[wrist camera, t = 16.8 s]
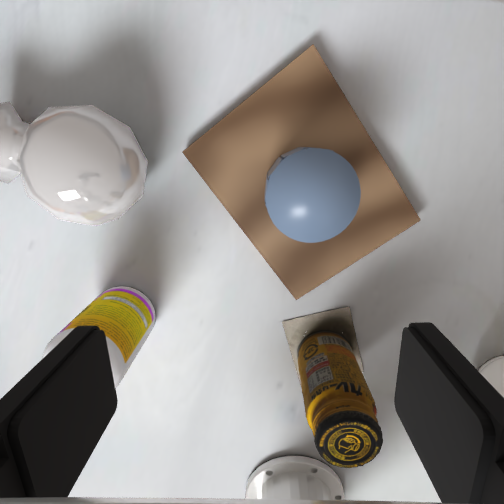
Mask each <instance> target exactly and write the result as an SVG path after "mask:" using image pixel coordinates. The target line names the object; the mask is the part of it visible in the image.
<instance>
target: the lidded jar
mask: <svg viewBox="0 0 504 504" xmlns="http://www.w3.org/2000/svg"><path fill="white" fill-rule="evenodd" d="M478 371H479V372H480V374H481V375H482V376H483V377H484V378H485V379H486V380H487V381H488V382H489V383H490V384H491V385H492V386H493V387H494V388H495V389H496V390H497V391H498V392H499V393H500V394H501V395H502V396H503V398H504V355H502V356H498V357H495V358H493V359H490V360H489V361H487V362H486V363H485V364H483V365H482V366H481V367H480V369H479V370H478Z"/></svg>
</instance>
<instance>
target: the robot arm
mask: <svg viewBox="0 0 504 504" xmlns="http://www.w3.org/2000/svg"><path fill="white" fill-rule="evenodd" d="M394 402H395V408H396V411H397V414H398V416H399V418H400V420H401V422H402V424H403V426H404V428H405V430H406V432H407V434H408V436H409V438H410V440H411V442H412V444H413V446H414V448H415V450H416V452H417V454H418V456H419V458H420V460H421V462H422V464H423V466H424V468H425V470H426V472H427V474H428V476H429V478H430V480H431V482H432V484H433V486H434V488H435V490H436V492H437V494H438V496H439V498H440V500H441V502H442V503H430V502H399V501H346V500H344V491H343V487H342V483H341V481H340V479H339V477H338V475H337V474H336V473H335V472H334V471H333V469H331V468H330V467H329V466H327V465H326V464H324V463H322V462H320V461H318V460H316V459H312V458H309V457H304V456H284V457H279V458H275V459H272V460H270V461H268V462H266V463H264V464H262V465H261V466H259V467H258V468H257V469H256V470H255V471H254V472H253V473H252V474H251V476H250V477H249V479H248V481H247V485H246V493H245V499H216V498H96V497H68V495H69V493H70V491H71V490H72V488H73V486H74V484H75V482H76V481H77V479H78V477H79V475H80V473H81V472H82V470H83V468H84V466H85V465H86V463H87V461H88V459H89V457H90V456H91V454H92V452H93V450H94V449H95V447H96V445H97V443H98V441H99V440H100V438H101V436H102V434H103V432H104V431H105V429H106V427H107V425H108V424H109V422H110V420H111V418H112V416H113V415H114V413H115V411H116V408H117V395H116V390H115V384H114V379H113V373H112V368H111V363H110V357H109V352H108V346H107V341H106V335H105V332H104V331H103V330H100V328H99V327H98V326H77V327H75V328H74V329H73V330H72V331H71V332H70V333H69V334H68V335H67V336H66V337H65V338H64V339H63V340H62V341H61V342H60V343H59V344H58V345H57V346H56V347H55V348H53V349H52V350H51V351H50V352H49V353H48V354H47V355H46V356H45V357H44V358H43V359H42V360H41V361H40V362H39V363H38V364H37V365H36V366H35V367H34V368H33V369H32V370H31V371H29V372H28V373H27V374H26V375H25V376H24V377H23V378H22V379H21V380H20V381H19V382H18V383H17V384H16V385H15V386H14V387H13V388H12V389H11V390H10V391H9V392H8V393H7V394H6V395H4V396H3V397H2V398H1V399H0V504H504V398H503V396H502V395H501V394H500V393H499V392H498V391H497V390H496V389H495V388H494V387H493V386H492V385H491V384H490V383H489V382H488V381H487V380H486V379H485V378H484V377H483V376H482V375H481V374H480V372H479V371H478V370H477V369H476V368H475V367H474V366H473V365H472V364H471V363H470V362H469V361H468V360H467V359H466V358H465V357H464V356H463V355H462V354H461V353H460V352H459V351H458V349H457V348H456V347H455V346H454V345H453V344H452V343H451V342H450V341H449V340H448V339H447V338H446V337H445V336H444V335H443V334H442V333H441V332H440V331H439V330H438V329H437V328H436V326H435V325H434V324H432V323H410V324H409V327H406V328H404V329H403V333H402V341H401V350H400V358H399V366H398V374H397V382H396V391H395V400H394Z"/></svg>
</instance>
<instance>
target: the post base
mask: <svg viewBox="0 0 504 504" xmlns="http://www.w3.org/2000/svg"><path fill="white" fill-rule="evenodd" d="M298 147H311V148H321V149H329V150H333V151H334V152H335V153H337V154H339V155H341V156H342V157H343V158H345V159H346V160H347V161H348V162H349V163H350V164H351V166H352V167H353V168H354V170H355V172H356V174H357V176H358V179H359V183H360V189H361V198H360V204H359V207H358V210H357V213H356V215H355V217H354V218H353V220H352V221H351V223H350V224H349V225H348V226H347V227H346V229H345V230H343V231H342V232H341V233H340V234H338V235H336V236H335V237H333V238H331V239H328V240H325V241H322V242H316V243H305V242H300V241H297V240H294V239H292V238H289V237H288V236H286V235H284V234H283V233H282V232H281V231H280V230H279V229H278V228H277V227H276V226H275V225H274V224H273V222H272V220H271V218H270V216H269V213H268V210H267V207H266V205H265V185H266V176H267V174H268V173H267V172H268V171H269V170H270V168H271V167H272V165H273V164H274V163H275V161H276V160H277V159H278V157H280V158H281V156H280V155H282V154H285V153H287V152H289V151H291V150H293V149H295V148H298ZM183 154H184V155H185V156H186V158H187V159H188V160H189V162H190V163H191V164H192V165H193V167H194V168H195V169H196V171H197V172H198V173H199V175H200V176H201V177H202V178H203V180H204V181H205V182H206V184H207V185H208V186H209V188H210V189H211V190H212V191H213V193H214V194H215V195H216V197H217V198H218V199H219V200H220V202H221V203H222V204H223V206H224V207H225V208H226V210H227V211H228V212H229V213H230V215H231V216H232V217H233V219H234V220H235V221H236V223H237V224H238V225H239V226H240V228H241V229H242V230H243V232H244V233H245V234H246V236H247V237H248V238H249V239H250V241H251V242H252V243H253V245H254V246H255V247H256V249H257V250H258V251H259V252H260V254H261V255H262V256H263V258H264V259H265V260H266V262H267V263H268V264H269V265H270V267H271V268H272V269H273V271H274V272H275V273H276V275H277V276H278V277H279V278H280V280H281V281H282V282H283V284H284V285H285V286H286V287H287V289H288V290H289V291H290V293H291V294H292V295H293V297H294V298H295V299H296V300H297V299H299V298H300V297H302V296H303V295H305V294H306V293H308V292H310V291H311V290H313V289H314V288H316V287H317V286H319V285H320V284H322V283H324V282H325V281H327V280H328V279H330V278H331V277H333V276H334V275H336V274H338V273H339V272H341V271H342V270H344V269H345V268H347V267H349V266H350V265H352V264H353V263H355V262H356V261H358V260H359V259H361V258H363V257H364V256H366V255H367V254H369V253H370V252H372V251H373V250H375V249H377V248H378V247H380V246H381V245H383V244H384V243H386V242H387V241H389V240H391V239H392V238H394V237H395V236H397V235H398V234H400V233H402V232H403V231H405V230H406V229H408V228H409V227H411V226H412V225H414V224H416V223H417V222H419V221H420V218H419V216H418V215H417V213H416V212H415V210H414V208H413V207H412V205H411V203H410V202H409V200H408V198H407V197H406V195H405V194H404V192H403V190H402V189H401V187H400V185H399V184H398V182H397V180H396V179H395V177H394V176H393V174H392V172H391V171H390V169H389V167H388V166H387V164H386V162H385V161H384V159H383V157H382V156H381V154H380V153H379V151H378V149H377V148H376V146H375V144H374V143H373V141H372V139H371V138H370V136H369V135H368V133H367V131H366V130H365V128H364V126H363V125H362V123H361V121H360V120H359V118H358V117H357V115H356V113H355V112H354V110H353V108H352V107H351V105H350V103H349V102H348V100H347V99H346V97H345V95H344V94H343V92H342V90H341V89H340V87H339V85H338V84H337V82H336V81H335V79H334V77H333V76H332V74H331V72H330V71H329V69H328V67H327V66H326V64H325V63H324V61H323V59H322V58H321V56H320V54H319V53H318V51H317V49H316V48H315V46H314V45H312V46H310V47H309V48H308V49H307V50H306V51H304V52H303V53H302V54H301V55H299V56H298V57H297V58H296V59H295V60H293V61H292V62H291V63H290V64H289V65H287V66H286V67H285V68H284V69H282V70H281V71H280V72H279V73H278V74H276V75H275V76H274V77H273V78H272V79H270V80H269V81H268V82H267V83H265V84H264V85H263V86H262V87H261V88H259V89H258V90H257V91H256V92H255V93H253V94H252V95H251V96H250V97H249V98H247V99H246V100H245V101H244V102H242V103H241V104H240V105H239V106H238V107H236V108H235V109H234V110H233V111H232V112H230V113H229V114H228V115H227V116H225V117H224V118H223V119H222V120H221V121H219V122H218V123H217V124H216V125H215V126H213V127H212V128H211V129H210V130H208V131H207V132H206V133H205V134H204V135H202V136H201V137H200V138H199V139H198V140H196V141H195V142H194V143H193V144H191V145H190V146H189V147H188V148H187V149H185V150H184V151H183Z"/></svg>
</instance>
